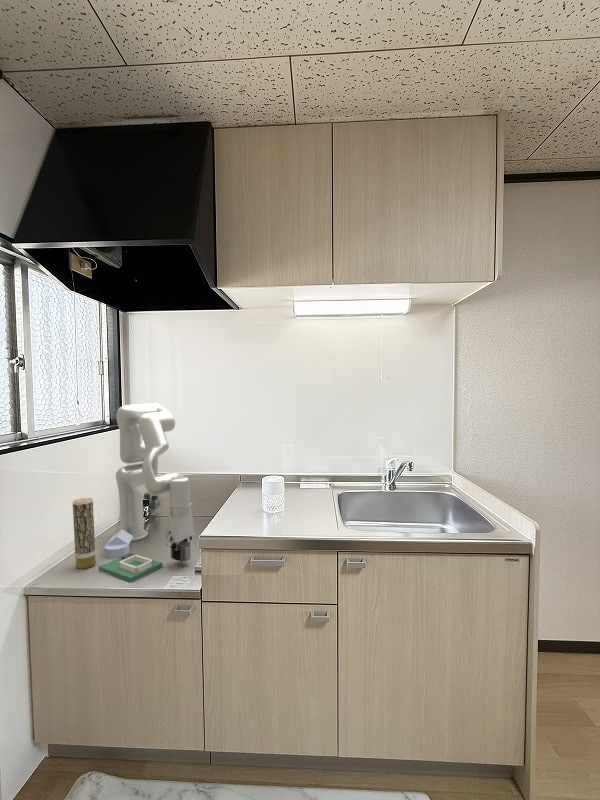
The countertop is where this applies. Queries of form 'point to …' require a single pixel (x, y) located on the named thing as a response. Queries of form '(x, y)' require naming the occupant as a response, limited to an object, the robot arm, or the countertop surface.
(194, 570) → the countertop surface
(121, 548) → the wedge on round base
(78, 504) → the bark patterned cylinder
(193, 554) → the countertop surface
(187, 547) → the plug
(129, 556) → the board
